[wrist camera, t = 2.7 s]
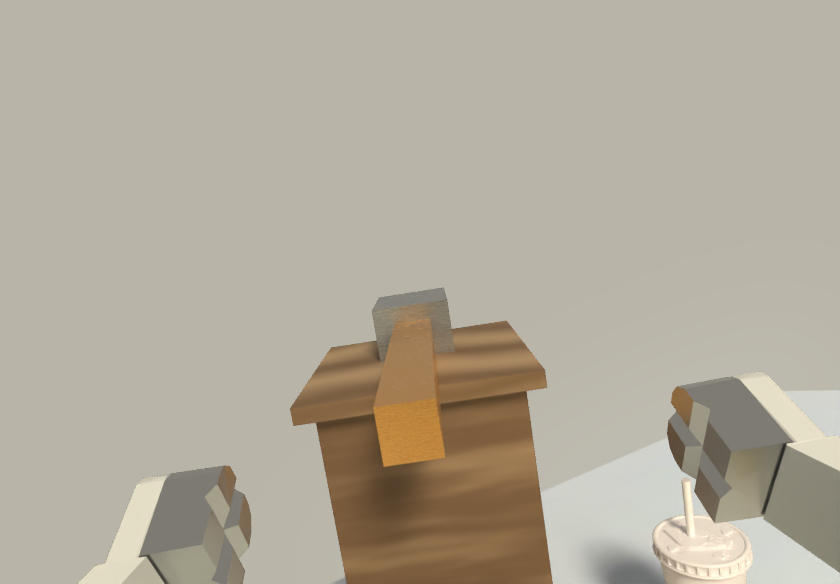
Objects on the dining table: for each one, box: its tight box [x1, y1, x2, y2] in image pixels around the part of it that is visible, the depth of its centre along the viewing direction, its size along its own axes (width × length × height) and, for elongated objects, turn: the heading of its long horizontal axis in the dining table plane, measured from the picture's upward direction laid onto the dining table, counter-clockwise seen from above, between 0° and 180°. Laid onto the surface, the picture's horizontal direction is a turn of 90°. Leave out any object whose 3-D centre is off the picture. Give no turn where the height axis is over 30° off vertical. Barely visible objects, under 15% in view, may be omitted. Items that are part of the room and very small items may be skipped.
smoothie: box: [652, 478, 753, 584], centre depth 40 cm, size 6×6×14 cm
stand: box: [290, 321, 553, 584], centre depth 39 cm, size 14×14×26 cm
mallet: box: [372, 288, 455, 467], centre depth 32 cm, size 22×5×4 cm, turn 1°
